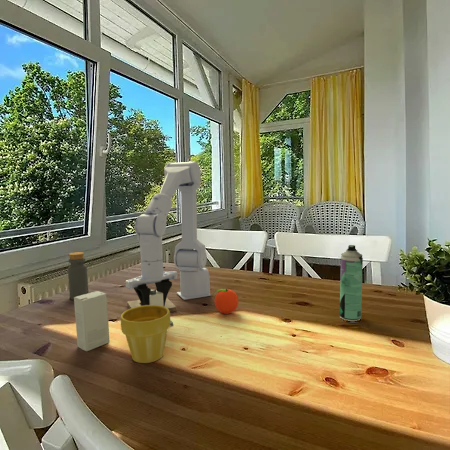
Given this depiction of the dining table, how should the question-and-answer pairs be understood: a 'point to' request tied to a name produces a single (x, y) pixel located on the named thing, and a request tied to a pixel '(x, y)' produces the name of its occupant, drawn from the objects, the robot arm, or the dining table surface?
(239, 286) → the dining table surface
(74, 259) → the bottle
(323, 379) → the dining table surface
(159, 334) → the plant pot
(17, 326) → the dining table surface
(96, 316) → the skincare box
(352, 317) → the spray can
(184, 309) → the dining table surface
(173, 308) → the holder
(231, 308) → the clementine
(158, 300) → the plug
